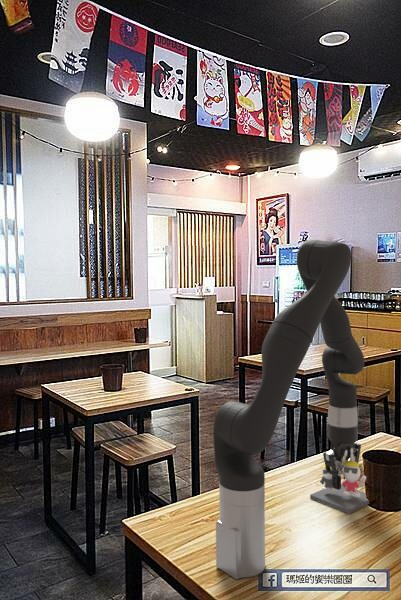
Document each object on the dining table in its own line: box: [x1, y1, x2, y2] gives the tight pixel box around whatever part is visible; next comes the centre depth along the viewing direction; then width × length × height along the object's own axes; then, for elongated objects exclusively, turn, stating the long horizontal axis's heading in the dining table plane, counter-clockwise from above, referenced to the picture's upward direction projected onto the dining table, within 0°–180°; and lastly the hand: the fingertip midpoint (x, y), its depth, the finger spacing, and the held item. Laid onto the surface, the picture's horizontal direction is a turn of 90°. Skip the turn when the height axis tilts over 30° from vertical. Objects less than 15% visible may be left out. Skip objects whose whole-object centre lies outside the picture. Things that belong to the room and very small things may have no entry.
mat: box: [309, 483, 370, 515], centre depth 135 cm, size 12×12×1 cm
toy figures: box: [319, 461, 367, 497], centre depth 134 cm, size 12×4×8 cm, turn 56°
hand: (342, 485), depth 134 cm, fingers closed on toy figures, 4 cm apart
